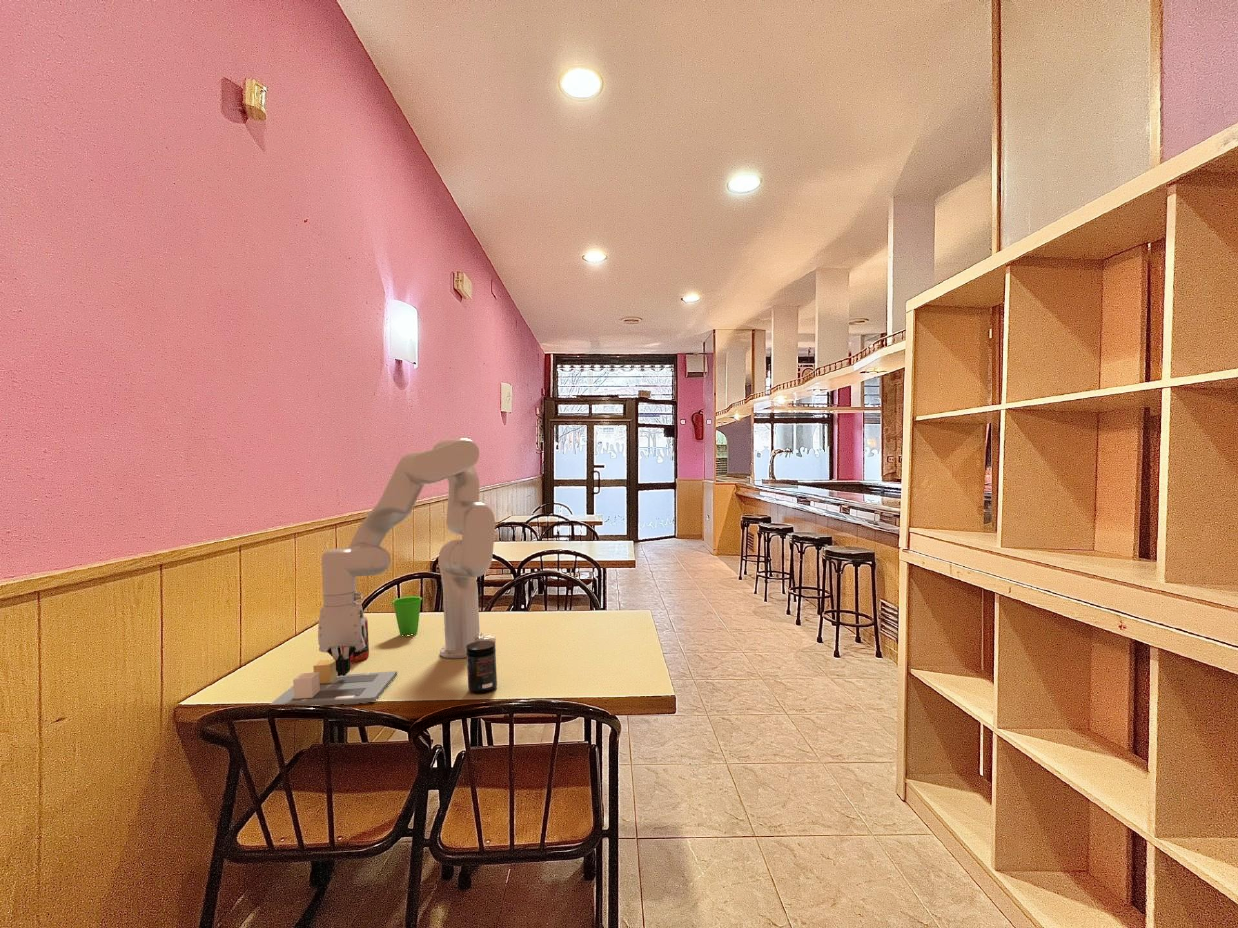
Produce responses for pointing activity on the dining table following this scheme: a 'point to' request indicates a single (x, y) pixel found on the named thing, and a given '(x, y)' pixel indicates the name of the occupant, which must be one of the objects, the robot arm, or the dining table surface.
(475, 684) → the supplement container
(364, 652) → the canned food
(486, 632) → the dining table surface
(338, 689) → the switch board
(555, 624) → the dining table surface
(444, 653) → the robot arm
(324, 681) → the orange cube
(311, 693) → the pale pink cube
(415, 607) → the cup
